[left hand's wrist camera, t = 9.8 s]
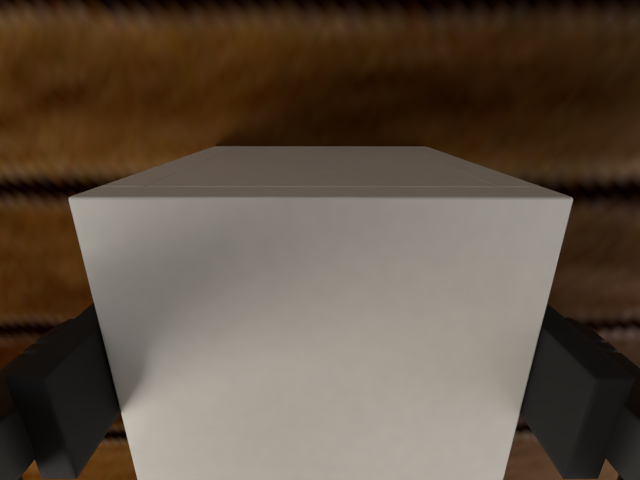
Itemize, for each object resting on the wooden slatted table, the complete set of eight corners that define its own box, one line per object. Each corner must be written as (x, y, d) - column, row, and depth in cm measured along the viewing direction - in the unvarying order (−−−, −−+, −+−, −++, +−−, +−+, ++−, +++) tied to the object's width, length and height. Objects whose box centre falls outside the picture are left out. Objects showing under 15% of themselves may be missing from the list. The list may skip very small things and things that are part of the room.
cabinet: (396, 446, 24) (451, 688, 14) (243, 446, 24) (188, 688, 14) (426, 146, 18) (575, 197, 7) (213, 145, 18) (66, 197, 7)
